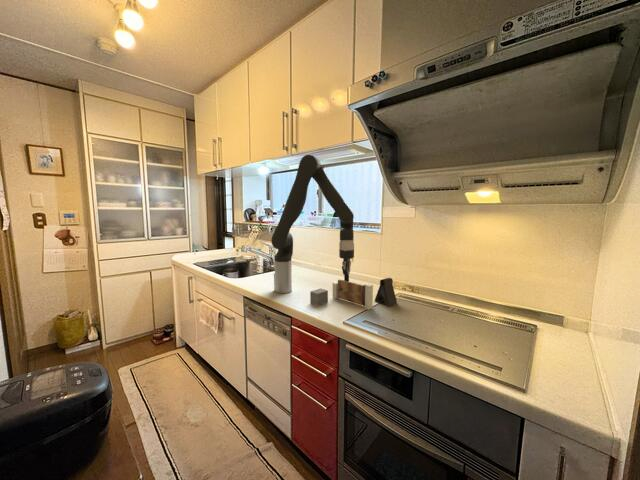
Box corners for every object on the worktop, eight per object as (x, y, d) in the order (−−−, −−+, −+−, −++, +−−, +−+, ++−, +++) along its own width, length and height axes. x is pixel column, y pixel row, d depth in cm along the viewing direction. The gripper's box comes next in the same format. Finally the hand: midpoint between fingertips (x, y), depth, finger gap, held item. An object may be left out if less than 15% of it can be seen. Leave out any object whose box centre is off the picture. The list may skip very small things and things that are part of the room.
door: (336, 298, 130) (336, 279, 128) (339, 297, 131) (339, 278, 130) (363, 307, 118) (364, 286, 117) (366, 305, 120) (367, 285, 119)
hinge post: (364, 308, 118) (365, 285, 117) (368, 306, 120) (369, 283, 119) (368, 309, 117) (369, 286, 115) (372, 307, 119) (372, 284, 117)
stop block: (310, 303, 125) (310, 291, 124) (320, 299, 130) (320, 288, 129) (317, 306, 121) (317, 293, 120) (327, 302, 126) (327, 290, 125)
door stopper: (374, 301, 127) (375, 277, 126) (382, 298, 131) (383, 275, 130) (389, 306, 120) (390, 281, 119) (397, 304, 124) (398, 279, 122)
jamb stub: (332, 297, 132) (332, 282, 131) (335, 296, 134) (335, 281, 133) (336, 298, 131) (336, 283, 130) (339, 297, 132) (339, 282, 131)
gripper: (342, 246, 139) (342, 277, 141) (336, 250, 126) (336, 284, 128) (355, 247, 137) (355, 278, 139) (351, 250, 124) (351, 285, 126)
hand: (346, 281), depth 134 cm, fingers closed
